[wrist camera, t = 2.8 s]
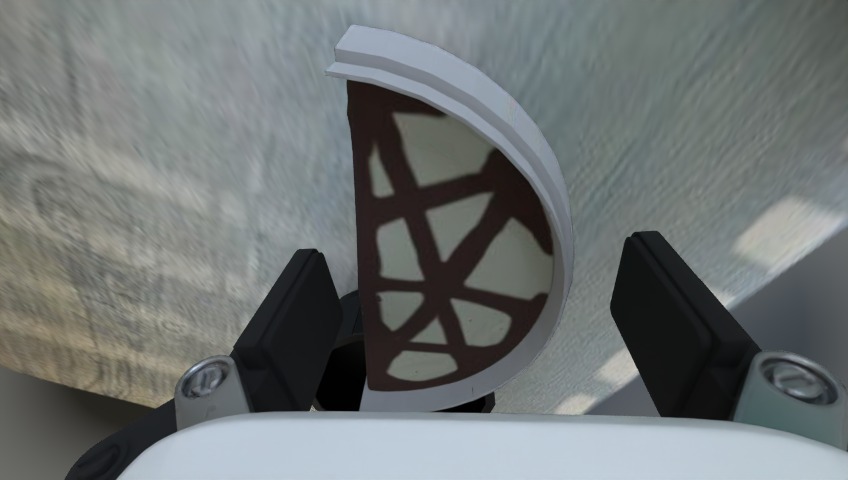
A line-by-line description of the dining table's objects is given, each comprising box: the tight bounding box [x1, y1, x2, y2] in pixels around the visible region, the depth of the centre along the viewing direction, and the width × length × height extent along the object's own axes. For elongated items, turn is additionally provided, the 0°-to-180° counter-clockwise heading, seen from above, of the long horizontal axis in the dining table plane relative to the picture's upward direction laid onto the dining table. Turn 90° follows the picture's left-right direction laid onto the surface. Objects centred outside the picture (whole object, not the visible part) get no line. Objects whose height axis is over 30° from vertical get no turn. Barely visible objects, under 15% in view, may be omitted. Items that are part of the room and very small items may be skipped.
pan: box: [312, 290, 495, 413], centre depth 27 cm, size 21×12×4 cm, turn 167°
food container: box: [325, 24, 574, 412], centre depth 13 cm, size 12×6×10 cm, turn 177°
